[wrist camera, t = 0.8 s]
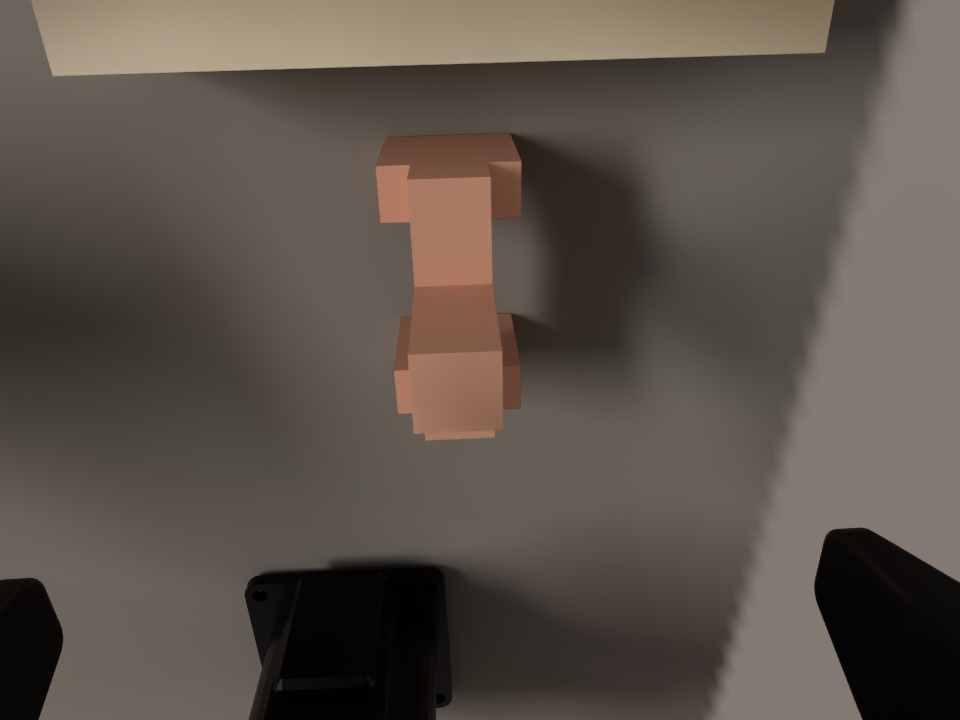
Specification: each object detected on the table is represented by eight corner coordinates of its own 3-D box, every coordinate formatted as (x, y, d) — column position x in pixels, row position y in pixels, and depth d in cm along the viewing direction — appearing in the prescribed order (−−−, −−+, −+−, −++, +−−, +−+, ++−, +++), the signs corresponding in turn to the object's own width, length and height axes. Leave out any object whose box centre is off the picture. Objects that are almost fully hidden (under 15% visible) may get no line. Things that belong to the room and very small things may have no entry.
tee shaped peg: (510, 352, 20) (539, 523, 14) (404, 356, 20) (385, 530, 14) (510, 133, 18) (546, 223, 11) (386, 137, 17) (352, 230, 11)
